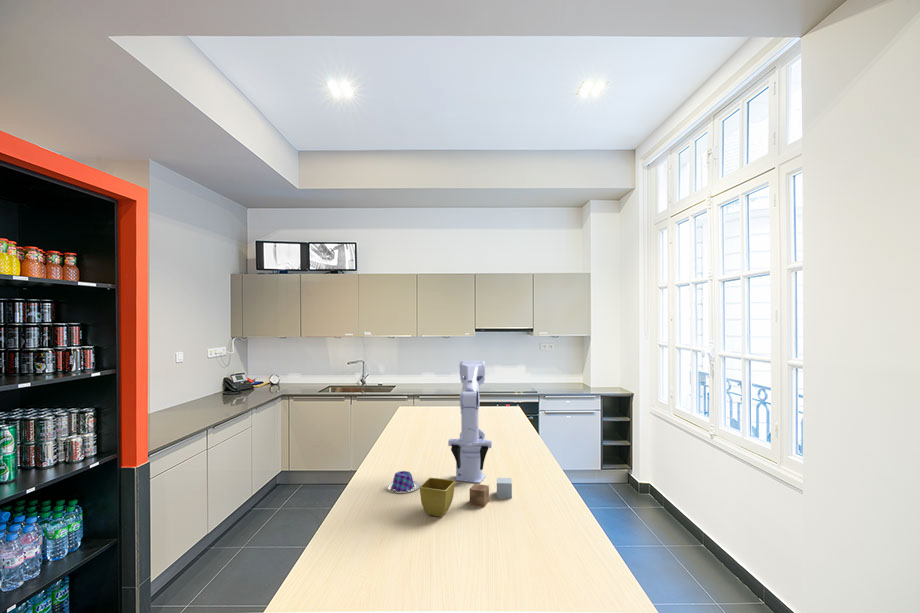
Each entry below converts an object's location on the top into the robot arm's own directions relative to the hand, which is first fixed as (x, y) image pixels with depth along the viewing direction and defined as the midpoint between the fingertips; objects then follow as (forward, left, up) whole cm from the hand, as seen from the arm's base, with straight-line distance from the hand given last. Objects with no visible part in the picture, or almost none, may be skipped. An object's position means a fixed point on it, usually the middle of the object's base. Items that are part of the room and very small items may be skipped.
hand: (470, 468), depth 149 cm
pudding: (-26, +2, -10) cm, 28 cm away
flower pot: (-6, -14, -10) cm, 18 cm away
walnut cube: (+4, -3, -10) cm, 11 cm away
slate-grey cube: (+10, +6, -10) cm, 16 cm away
